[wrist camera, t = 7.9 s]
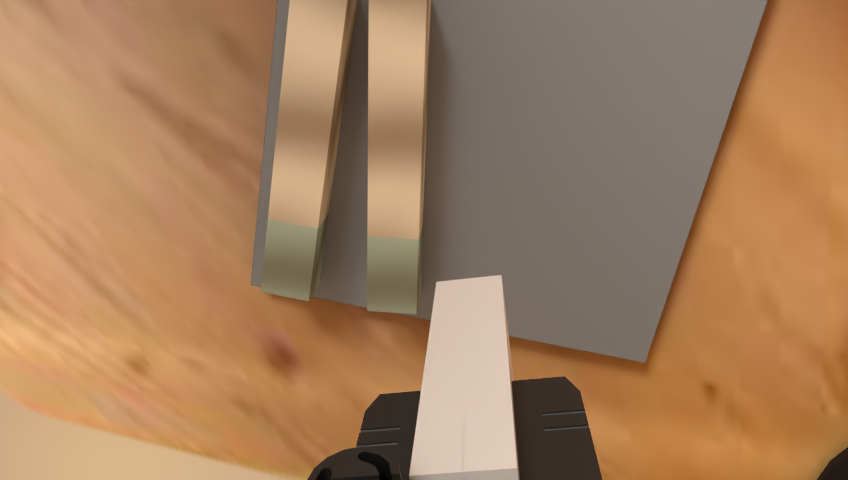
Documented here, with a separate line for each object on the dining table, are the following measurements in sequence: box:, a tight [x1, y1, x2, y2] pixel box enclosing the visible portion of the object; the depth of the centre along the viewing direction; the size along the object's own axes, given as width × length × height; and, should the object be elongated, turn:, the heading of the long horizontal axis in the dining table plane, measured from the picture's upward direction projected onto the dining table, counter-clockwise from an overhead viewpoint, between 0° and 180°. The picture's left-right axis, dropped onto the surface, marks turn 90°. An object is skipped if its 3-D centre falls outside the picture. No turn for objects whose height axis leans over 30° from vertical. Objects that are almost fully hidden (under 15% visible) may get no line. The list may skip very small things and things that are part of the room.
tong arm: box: [367, 0, 431, 314], centre depth 32 cm, size 15×2×2 cm, turn 178°
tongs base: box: [261, 0, 357, 301], centre depth 31 cm, size 20×5×4 cm, turn 170°
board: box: [251, 0, 768, 363], centre depth 34 cm, size 22×22×1 cm
